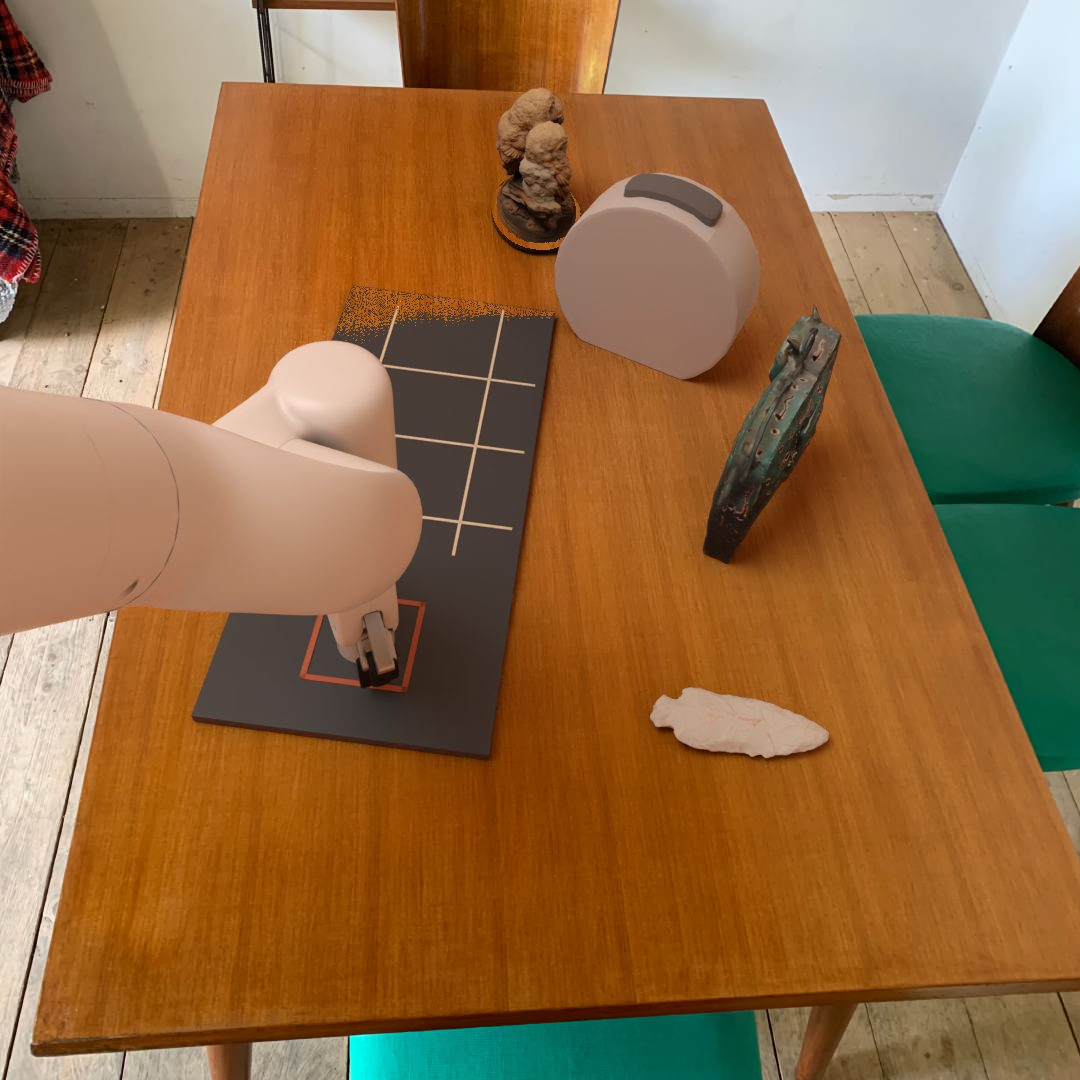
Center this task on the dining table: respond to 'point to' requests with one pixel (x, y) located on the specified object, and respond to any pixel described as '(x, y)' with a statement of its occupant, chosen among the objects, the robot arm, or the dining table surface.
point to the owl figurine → (535, 171)
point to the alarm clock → (659, 274)
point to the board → (417, 550)
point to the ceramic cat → (773, 433)
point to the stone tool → (736, 724)
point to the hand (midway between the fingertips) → (363, 633)
